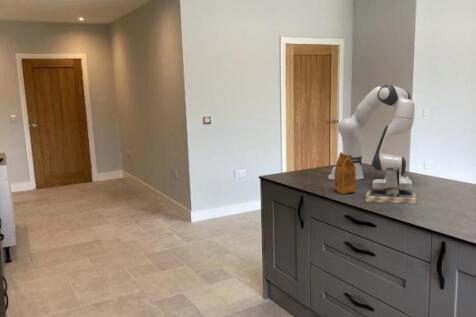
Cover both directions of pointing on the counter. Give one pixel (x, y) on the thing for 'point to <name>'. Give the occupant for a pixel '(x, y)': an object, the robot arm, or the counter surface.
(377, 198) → the birch bay
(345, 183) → the coffee package
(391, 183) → the coffee box
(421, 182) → the counter surface
